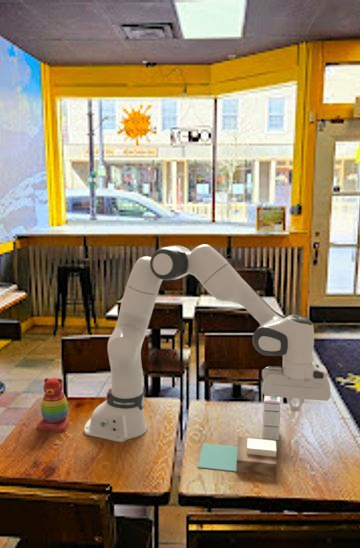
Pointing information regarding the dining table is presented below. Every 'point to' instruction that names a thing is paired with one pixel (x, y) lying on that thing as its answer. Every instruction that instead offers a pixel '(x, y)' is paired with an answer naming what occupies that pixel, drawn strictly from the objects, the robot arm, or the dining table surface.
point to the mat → (218, 457)
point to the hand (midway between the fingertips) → (294, 410)
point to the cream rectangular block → (261, 447)
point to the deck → (254, 460)
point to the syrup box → (271, 418)
